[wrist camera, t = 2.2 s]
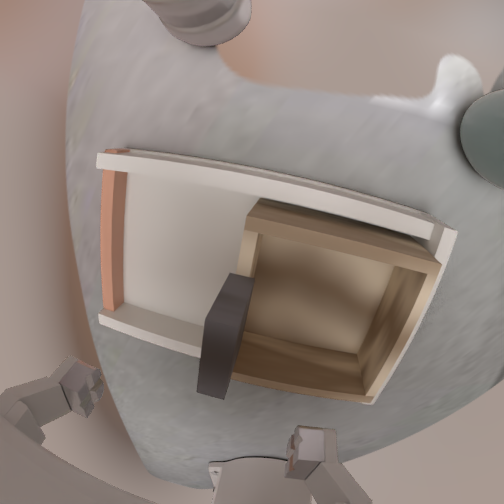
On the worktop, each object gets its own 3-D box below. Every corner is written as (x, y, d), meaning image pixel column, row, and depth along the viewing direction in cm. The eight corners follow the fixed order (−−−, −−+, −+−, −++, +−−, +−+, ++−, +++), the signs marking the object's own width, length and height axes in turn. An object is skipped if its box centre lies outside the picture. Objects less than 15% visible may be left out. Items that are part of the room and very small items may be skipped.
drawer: (360, 356, 25) (378, 453, 14) (230, 329, 26) (193, 425, 15) (410, 235, 20) (482, 305, 10) (255, 196, 21) (215, 243, 11)
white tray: (364, 365, 26) (372, 404, 21) (119, 305, 28) (91, 333, 23) (426, 212, 21) (458, 231, 16) (124, 148, 23) (85, 151, 17)
